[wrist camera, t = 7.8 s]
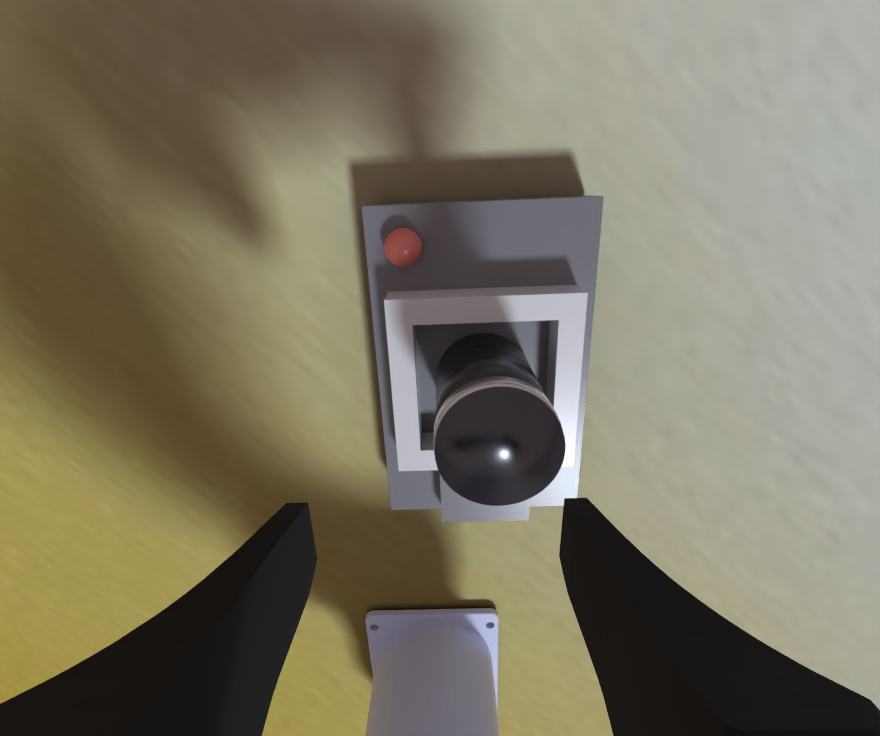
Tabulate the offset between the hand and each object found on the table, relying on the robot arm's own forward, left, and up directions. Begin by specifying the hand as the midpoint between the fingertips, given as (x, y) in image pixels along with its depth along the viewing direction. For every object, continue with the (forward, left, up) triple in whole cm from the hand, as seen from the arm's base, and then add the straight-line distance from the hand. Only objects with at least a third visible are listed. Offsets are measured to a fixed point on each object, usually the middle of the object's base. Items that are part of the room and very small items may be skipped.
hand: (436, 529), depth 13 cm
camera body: (+1, -2, -10) cm, 10 cm away
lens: (+1, -2, -8) cm, 8 cm away
